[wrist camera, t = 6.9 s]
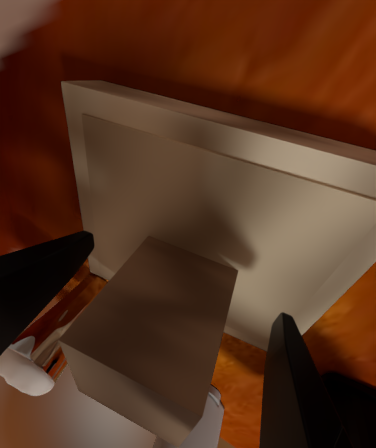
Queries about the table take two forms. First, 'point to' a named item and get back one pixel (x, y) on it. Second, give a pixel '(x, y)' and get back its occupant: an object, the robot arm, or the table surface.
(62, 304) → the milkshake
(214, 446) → the grey ridged slab
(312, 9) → the table surface
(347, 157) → the base
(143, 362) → the walnut block
